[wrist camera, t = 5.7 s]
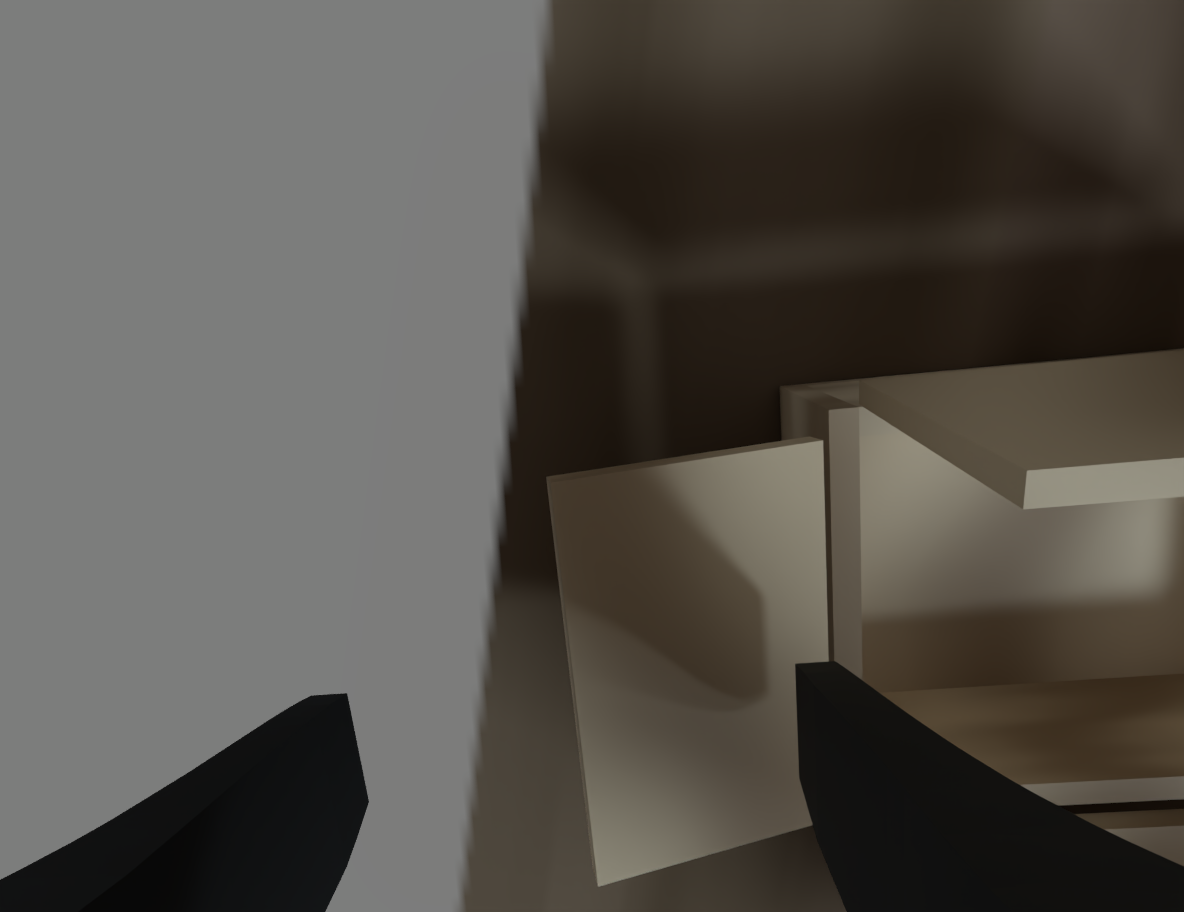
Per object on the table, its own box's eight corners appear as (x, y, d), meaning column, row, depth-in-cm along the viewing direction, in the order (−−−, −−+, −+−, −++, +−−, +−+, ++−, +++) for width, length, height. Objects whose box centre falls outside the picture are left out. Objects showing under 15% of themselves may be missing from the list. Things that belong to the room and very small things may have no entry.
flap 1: (550, 482, 10) (545, 476, 10) (597, 887, 11) (593, 867, 12) (822, 440, 11) (809, 436, 11) (832, 819, 12) (820, 804, 12)
